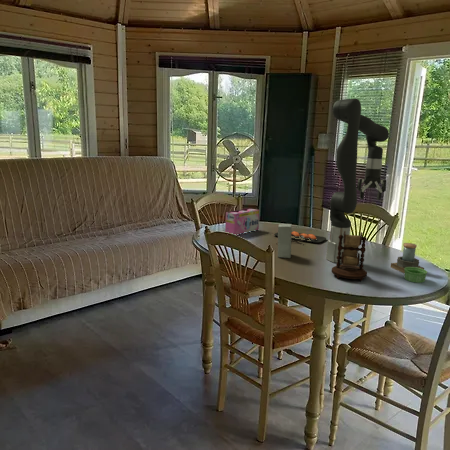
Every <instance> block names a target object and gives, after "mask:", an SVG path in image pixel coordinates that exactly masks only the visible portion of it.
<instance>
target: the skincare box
mask: <svg viewBox="0 0 450 450" xmlns="http://www.w3.org/2000/svg"><path fill="white" fill-rule="evenodd" d="M292 228H293V227H292V223H278V227H277V232H278V236H277V243H278V244H277V258H285V259H291V257H292V242H291V241H292V240H291V232H292Z"/></svg>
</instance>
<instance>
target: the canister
mask: <svg viewBox="0 0 450 450" xmlns="http://www.w3.org/2000/svg"><path fill="white" fill-rule="evenodd" d="M402 247H403V249H402V250H403V251H402V256H403V257H402V256H401V257H402V260H404V261H409V262H414V258H415V257H416V248H417V247H418V245H417V244H415V243H409V242H404V243H403V246H402Z"/></svg>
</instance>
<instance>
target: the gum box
mask: <svg viewBox="0 0 450 450" xmlns="http://www.w3.org/2000/svg"><path fill="white" fill-rule="evenodd" d="M259 227H260V209H254V208H252V207H247V208H241V209H237V210H231V211H226V212H225V228H224V233H225V232H229V233H233V234H236V235H237V234H240V233H244V232H249V231H254V230H258V229H259V230H260V228H259ZM237 236H238V235H237Z"/></svg>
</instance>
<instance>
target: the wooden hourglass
mask: <svg viewBox="0 0 450 450" xmlns="http://www.w3.org/2000/svg"><path fill="white" fill-rule="evenodd" d="M345 234H346V232H345V231H344V237H343V235H339V243H338V244H339V245H338V256H337V261H338V262H337V263H336V264H335V266H333V267H331V274H333V275H334V276H336V278H337V279H338V280H339V279H340V278H344V279H348V280H349V279H350V280H360V282H362V281H363V279H364V278H365V279H366V277H367V276H368V271H367V270H365V269H364V262H365V253H366V241H367V236H363V232H362V231H360V234H359V235H356V234H350V235H345ZM342 239H343V243H344V247H343V246H341V245H342ZM342 249H344V251H343V252H342V255H341V250H342ZM360 253H361V254H360ZM340 255H341V256H340ZM340 260H341V263H340Z"/></svg>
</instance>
